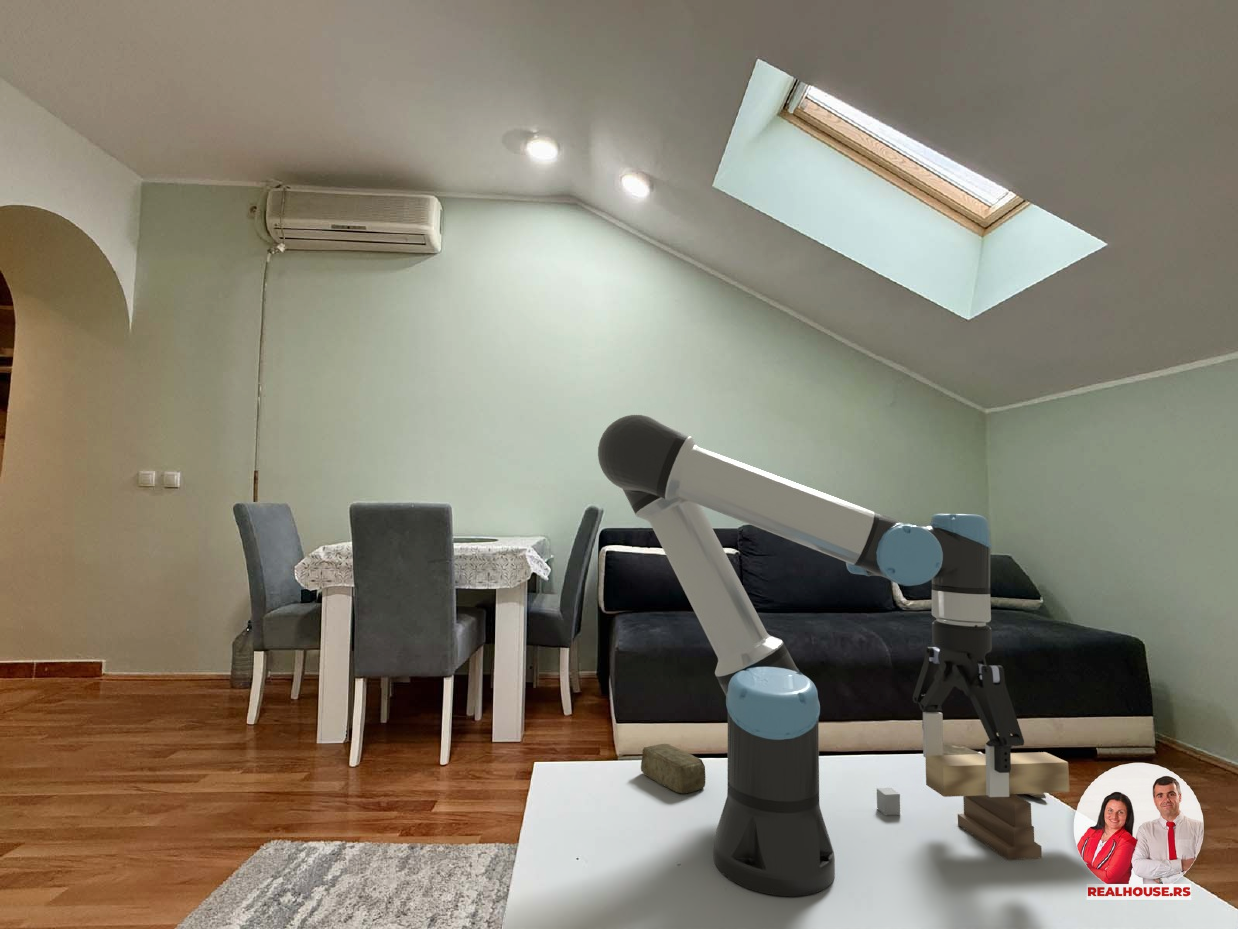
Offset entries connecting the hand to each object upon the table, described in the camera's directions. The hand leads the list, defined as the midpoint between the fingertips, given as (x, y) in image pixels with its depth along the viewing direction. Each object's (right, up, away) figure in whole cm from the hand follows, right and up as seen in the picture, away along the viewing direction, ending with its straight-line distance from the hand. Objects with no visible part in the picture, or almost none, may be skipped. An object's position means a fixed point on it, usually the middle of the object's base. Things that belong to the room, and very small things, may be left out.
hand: (963, 775), depth 90 cm
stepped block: (+5, -9, 0) cm, 10 cm away
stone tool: (+16, -12, +25) cm, 32 cm away
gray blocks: (0, -10, +9) cm, 13 cm away
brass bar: (+5, -2, 0) cm, 5 cm away
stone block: (-39, -10, +18) cm, 45 cm away
